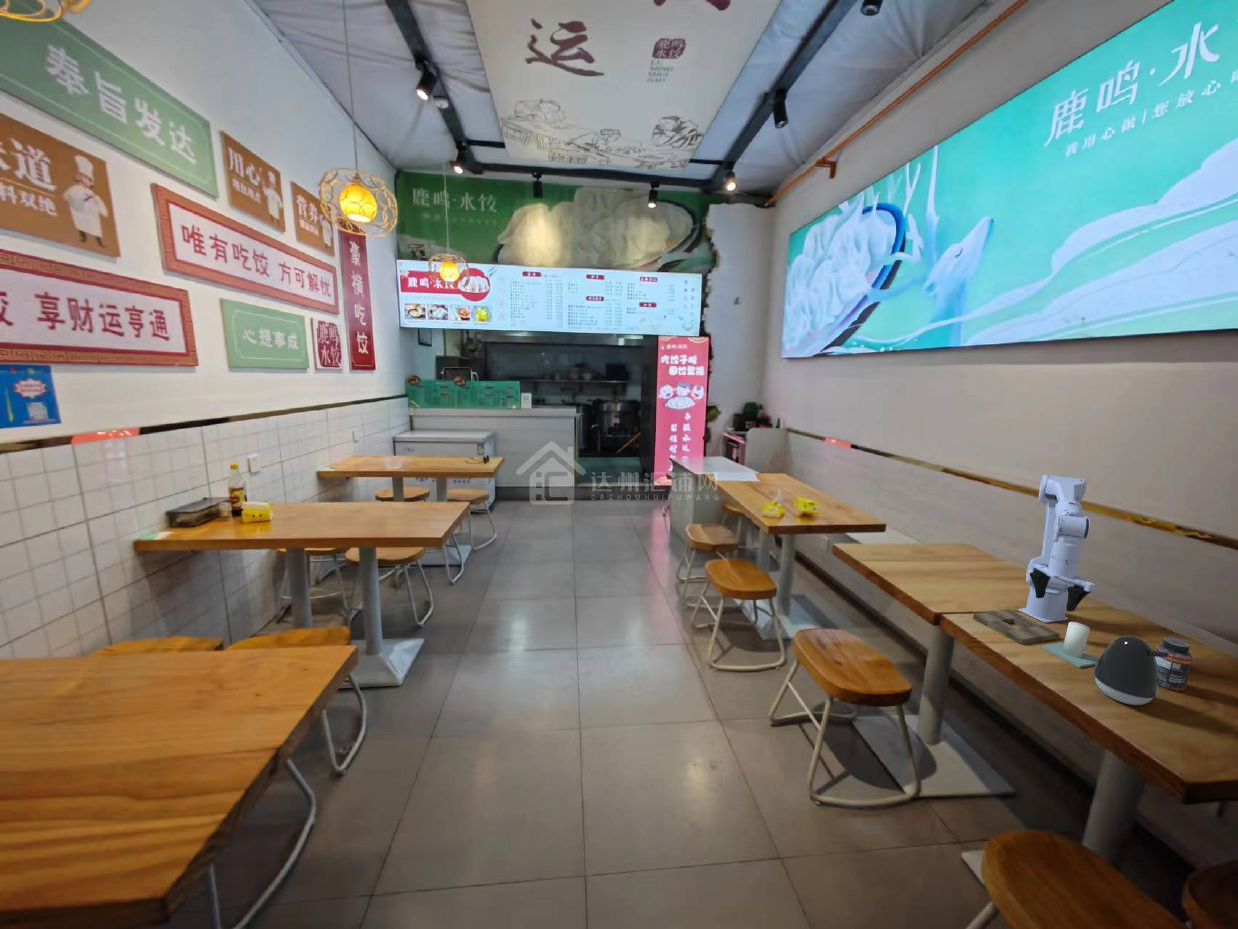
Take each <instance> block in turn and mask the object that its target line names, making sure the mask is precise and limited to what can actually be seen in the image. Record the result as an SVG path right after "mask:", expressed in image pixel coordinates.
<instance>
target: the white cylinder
mask: <svg viewBox="0 0 1238 929" xmlns="http://www.w3.org/2000/svg"><path fill="white" fill-rule="evenodd" d="M1089 633H1090V627H1089V626H1088V625H1085V624H1084V623H1080V622H1078V621H1077V622H1076V621H1069V622H1068V625H1067V629H1066V633H1065V638H1064V645H1063V649H1062V651H1063V652H1064V653H1066V654H1068V655H1070V656H1073V657H1078V658H1082V657H1083V654H1084V651H1085V650H1086V646H1087V641H1088V638H1089Z"/></svg>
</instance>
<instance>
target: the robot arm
mask: <svg viewBox="0 0 1238 929" xmlns="http://www.w3.org/2000/svg"><path fill="white" fill-rule="evenodd" d="M1086 490H1087V480H1086V479H1085V478H1082V477H1081V478H1077V477H1067V476H1059V475H1048V474H1046V473H1045V474H1043V475H1042V477H1041V478H1040V483H1039V492H1038V502H1039V503H1041V504H1042V505H1044V506H1045V511H1046V513H1045V514H1046V515H1045V522H1044V531H1043V540H1042V548H1041V551H1042V552H1041V556H1037V557H1034V558H1031V559H1030V561H1029V562H1028V567H1027V570H1026V574H1025V580H1026V583H1027V584H1028V585H1030V587H1029V592H1028V597H1027V601H1026V602H1027V603H1026V606H1025V607H1022V608H1018V610H1017V611H1019V612H1021V613H1023V614H1025V615H1027V616H1029V617H1031V618H1034V619H1036V620H1038V621H1040V622H1042V623H1045V624H1047V623H1053V622H1060V621H1066V620H1068V619H1069V618H1068V617H1066V612H1069V613H1070V612H1075V611H1076V609H1077V607H1078V605H1079V604H1080V603H1081V601H1082V600H1083V599H1085V597H1086V596H1088V595H1089V594H1090V593H1092V592H1094V591H1095V587H1096V584H1095V583H1092V582H1090V581H1088V580H1086V579H1084V578H1082V577H1080V576H1079V575H1077V571H1078V568H1079V562H1080V558H1081V554H1082V549H1083V545H1084V540H1086V539H1088V537H1089V534H1090V529H1091V520H1090V517H1087V516H1085V513H1084V508H1083V505H1082V504H1081V501H1082V500H1083V498H1084V496H1085V494H1086Z"/></svg>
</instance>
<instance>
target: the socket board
mask: <svg viewBox="0 0 1238 929" xmlns="http://www.w3.org/2000/svg"><path fill="white" fill-rule="evenodd" d="M972 619H973V620H974V621H977V622H979V623H980V624H983V626H986V627H988V628H989V629H992V630H993V631H996V632H997V633H999V634H1001V635H1003V636H1005V637H1006V638H1008V639H1011V640H1013V641H1014V642H1017V643H1018V644H1020V645H1026V644H1031V643H1038V642H1044V641H1045V642H1046V641H1049V640H1056V639H1057V640H1058V639H1059V638H1060V637H1061V636H1060V635H1061V632H1060V633H1059V632H1057V631H1056V630H1053V629H1052V628H1049V627H1047V626H1045V625H1043V624H1041V623H1039V622H1036V621H1035V620H1032V619H1031V618H1028V617H1026V616H1024V615H1022V614H1020V613H1018V612H1016V611H1013V610H1011V609H1002V610H996V611H994V610H993V611H988V612H981V613H980V612H979V613H973V617H972ZM1011 624H1014V625H1016V626H1018V627H1020V628H1017V627H1014V626H1013V625H1011Z"/></svg>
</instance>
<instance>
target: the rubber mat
mask: <svg viewBox="0 0 1238 929" xmlns="http://www.w3.org/2000/svg"><path fill="white" fill-rule="evenodd" d="M1063 645H1064V642H1056V643H1050V644H1045V645H1041V646H1040V649H1042V650H1043V651H1046V652H1048V653H1050V654H1052V655H1053V656H1056V657H1057V658H1060V659H1061V660H1063V661H1066V662H1067V663H1069V664H1071V665H1073V666H1076V667H1077V668H1079V669H1081V668H1086V667H1090V666H1096V663H1097V661H1098V659H1099V658H1100V657H1098V656H1097V655H1094V654H1091V653H1089V652H1087V651H1085V650H1084V654H1083V657H1082V658H1078V657H1073V656H1070V655H1068V654H1066V653H1064V652H1063V651H1062V649H1063Z"/></svg>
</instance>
